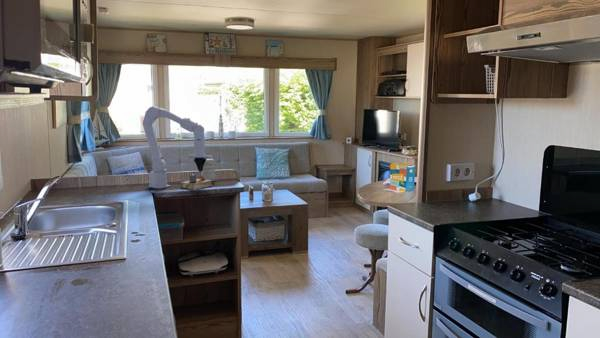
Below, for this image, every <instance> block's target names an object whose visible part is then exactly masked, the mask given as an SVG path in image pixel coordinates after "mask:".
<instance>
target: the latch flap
mask: <svg viewBox="0 0 600 338" xmlns="http://www.w3.org/2000/svg"><path fill="white" fill-rule="evenodd" d="M196 177H198V179H202V180H206V179H205V178H204V177H203V176H202V175H200V174H196Z"/></svg>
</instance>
